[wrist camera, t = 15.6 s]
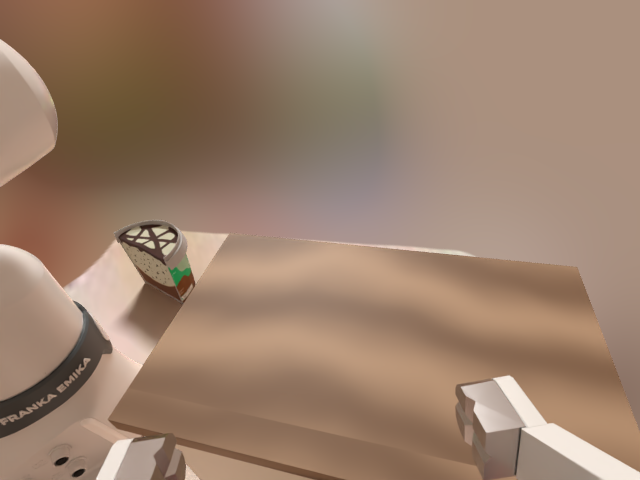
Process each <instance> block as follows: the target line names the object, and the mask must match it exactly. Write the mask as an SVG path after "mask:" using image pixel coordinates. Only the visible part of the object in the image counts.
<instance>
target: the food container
mask: <svg viewBox="0 0 640 480" xmlns="http://www.w3.org/2000/svg"><path fill="white" fill-rule="evenodd" d="M114 234H115V237H116V239H117V242H118V243H119V242H120V244H121V245H122V247H123V248H124V250H125V252H126V253H127V255H128V256H129V258H130V259H131V261H132V263H133V264H134V266H135V267H136V269H137V270H138V272H139V274H140V275H141V277H142V278H143V280H144V281H145V283H147V284H149V285H151V286H152V287H154V288H156V289H158V290H159V291H161V292H163V293H164V294H166V295H168V296H170V297H171V298H173V299H175V300H177V301H178V302H180V303H182V304H184V302H185V301H186V299H187V297H188V296H189V294H190V293H191V291H192V290H193V288H194V287H195V281H194V277H193V274H192V271H191V268H190V265H189V261H188V258H187V255H186V251H187V240H186V238H185V236H184V235H183V234H182V233H181V231H180V230H179V229H178V228H177V227H175V226H174V225H173V224H171V223H169V222H166V221H162V220H148V221H142V222H138V223H134V224H131V225H129V226H126V227H124V228H122V229H120V230H118V231H116V232H114Z"/></svg>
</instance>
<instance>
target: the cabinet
mask: <svg viewBox="0 0 640 480" xmlns="http://www.w3.org/2000/svg"><path fill="white" fill-rule="evenodd" d="M509 375H510V376H511V377H513V378H514V380H515V381H516V382H517V384H518V385H519V386H520V388H521V389H522V390H523V392H524V393H525V394H526V396H527V397H528V398H529V400H530V401H531V402H532V404H533V405H534V406H535V408H536V409H537V410H538V412H539V413H540V414H541V416H542V417H543V418H544V420H545V421H546V422H547V424H549V423H554V424H556V425H558V426H559V427H561V428H563V429H565V430H566V431H568V432H570V433H572V434H573V435H575V436H577V437H579V438H580V439H582V440H584V441H586V442H587V443H589V444H591V445H593V446H594V447H596V448H598V449H600V450H601V451H603V452H605V453H607V454H608V455H610V456H612V457H614V458H615V459H617V460H619V461H621V462H622V463H624V464H626V465H628V466H629V467H631V468H633V469H635V470H636V471H638V472H640V431H639V429H638V426H637V423H636V421H635V418H634V416H633V413H632V410H631V408H630V405H629V402H628V400H627V397H626V394H625V392H624V389H623V387H622V384H621V381H620V379H619V376H618V374H617V371H616V368H615V366H614V363H613V360H612V358H611V355H610V352H609V350H608V347H607V345H606V342H605V339H604V337H603V334H602V331H601V329H600V326H599V324H598V321H597V318H596V316H595V313H594V310H593V308H592V305H591V302H590V300H589V297H588V295H587V292H586V289H585V287H584V284H583V282H582V279H581V276H580V274H579V271H578V268H577V267H570V266H561V265H551V264H541V263H530V262H521V261H510V260H500V259H490V258H480V257H470V256H459V255H449V254H439V253H429V252H419V251H409V250H398V249H388V248H378V247H368V246H358V245H348V244H337V243H327V242H317V241H307V240H297V239H286V238H276V237H266V236H256V235H246V234H236V233H230V234H229V235H228V237H227V238H226V240H225V241H224V243H223V244H222V246H221V247H220V249H219V250H218V252H217V253H216V255H215V256H214V258H213V259H212V261H211V262H210V264H209V265H208V267H207V269H206V270H205V272H204V273H203V275H202V276H201V278H200V279H199V281H198V282H197V284H196V285H195V287H194V288H193V290H192V291H191V293H190V294H189V296H188V297H187V299H186V301H185V302H184V304H183V305H182V307H181V308H180V310H179V311H178V313H177V314H176V316H175V317H174V319H173V320H172V322H171V323H170V325H169V326H168V328H167V329H166V331H165V333H164V334H163V336H162V337H161V339H160V340H159V342H158V343H157V345H156V346H155V348H154V349H153V351H152V352H151V354H150V355H149V357H148V358H147V360H146V361H145V363H144V364H143V366H142V368H141V369H140V371H139V372H138V374H137V375H136V377H135V378H134V380H133V381H132V383H131V384H130V386H129V387H128V389H127V390H126V392H125V393H124V395H123V396H122V398H121V400H120V401H119V403H118V404H117V406H116V407H115V409H114V410H113V412H112V413H111V415H110V416H109V418H108V419H107V420H108V421H109V422H110V423H111V424H112V425H114V426H115V427H116V428H117V429H119V430H123V431H127V432H131V433H135V434H139V435H142V436H152V435H159V434H166V433H173V434H174V436H175V438H176V440H177V442H176V444H178V445H181V446H185V447H189V448H193V449H197V450H201V451H205V452H209V453H213V454H216V455H220V456H224V457H228V458H232V459H236V460H240V461H244V462H248V463H251V464H255V465H259V466H263V467H267V468H271V469H275V470H279V471H283V472H287V473H290V474H294V475H298V476H302V477H306V478H310V479H314V480H483V478H482V476H481V474H480V472H479V470H478V468H477V466H476V464H475V462H474V460H473V458H472V446H471V445H469V444H468V443H466V442H465V441H464V439H463V437H462V434H461V432H460V429H459V427H458V423H457V419H456V412H455V405H456V404H457V403H458V402H459V401H458V399H457V397H456V395H455V388H456V385H457V384H462V383H467V382H473V381H478V380H484V379H489V378H490V379H492V378H497V377H503V376H509ZM491 480H518V479H517V478H516V476H512V477H505V478H498V479H491Z"/></svg>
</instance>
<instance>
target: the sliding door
mask: <svg viewBox="0 0 640 480" xmlns="http://www.w3.org/2000/svg"><path fill="white" fill-rule="evenodd" d="M175 448H176V449H178V450H180V451H182V453H183V456H184V459H185V463H186V464H187V465H188V466H189V467H190V469H191V470H192V471H193V472H194V473H195V474H196V475H197V476H198V478H199V479H200V480H314V479H310V478H306V477H302V476H298V475H294V474H290V473H287V472H283V471H279V470H275V469H271V468H267V467H263V466H259V465H255V464H251V463H248V462H244V461H240V460H236V459H232V458H228V457H224V456H220V455H216V454H213V453H209V452H205V451H201V450H197V449H193V448H189V447H185V446H181V445H178V444H176V446H175Z"/></svg>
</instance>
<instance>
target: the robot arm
mask: <svg viewBox="0 0 640 480" xmlns="http://www.w3.org/2000/svg"><path fill="white" fill-rule="evenodd" d="M57 128H58V126H57V115H56V110H55V106H54V103H53V100H52V98H51V95H50V93H49V91H48V89H47V87H46V85H45V84H44V82H43V81H42V79H41V78H40V76H39V75H38V73H37V72H36V71H35V70H34V68H33V67H31V65H30V64H29V63H28V62H27V61H26V60H25V59H24V58H23V57H22V56H21V55H20V54H19V53H17V52H16V51H15V50H14V49H13V48H12V47H10V46H9V45H7V44H6V43H5V42H3V41H2V40H0V186H2V185H4V184H5V183H7V182H8V181H9V180H11V179H13V178H14V177H15V176H17V175H18V174H19V173H21V172H23V171H24V170H25V169H27V168H28V167H30V166H31V165H32V164H34V163H35V162H36V161H38V160H39V159H40V158H42V157H43V156H45V155H46V154H47V153H49V152H50V151H51V150H52V149H53V148H54V146H55V142H56V138H57ZM142 366H143V365H141V364H140V363H138V362H135V361H133V360H131V359H129V358H128V357H126V356H125V355H124V354H122V353H121V352H120V351H118V350H117V349H116V348H115V347H114V346H113V345H112V344H111V342H110V339H109V336H108V335H107V334H106V332H105V331H104V329H103V328H102V327H101V325H100V324H99V323H98V322H97V320H96V319H95V318H94V317H93V315H92V314H91V313H90V312H89V311H87V310H86V309H85V308H84V307H83V306H82V305H81V304H79V303H77V302H75V301H73V300H71V298H70V297H69V296H68V295H67V293H66V292H65V291H64V290H63V288H62V287H61V286H60V285H59V284H58V282H57V281H56V280H55V279H54V277H53V276H52V275H51V274H50V272H49V271H48V270H47V269H46V268H45V266H44V265H43V264H42V263H41V261H40V260H39V259H38V258H36V257H35V256H34V255H32V254H30V253H28V252H27V251H25V250H22V249H19V248H16V247H13V246H8V245H2V244H0V480H185V470H186V464H185V459H184V456H183V453H182V451H180V450H178V449H176V448H175V446H176V442H177V440H176V438H175V436H174V434H173V433H166V434H159V435H152V436H145V437H142V435H139V434H135V433H131V432H127V431H123V430H119V429H117V428H116V427H115V426H114V425H112V424H111V423H110V422H109V421H108V420H107V419H108V418H109V416H110V415H111V413H112V412H113V410H114V409H115V407H116V406H117V404H118V403H119V401H120V400H121V398H122V396H123V395H124V393H125V392H126V390H127V389H128V387H129V386H130V384H131V383H132V381H133V380H134V378H135V377H136V375H137V374H138V372H139V371H140V369H141V368H142ZM455 395H456V397H457V399H458V401H459V402H458V403H457V404H456V405H455V412H456V419H457V423H458V427H459V429H460V432H461V434H462V437H463V439H464V441H465V442H466V443H468V444H469V445H471V446H472V458H473V460H474V462H475V464H476V466H477V468H478V470H479V472H480V474H481V476H482V478H483V480H491V479H498V478H505V477H512V476H516V478H517V479H518V480H640V472H638V471H636V470H635V469H633V468H631V467H629V466H628V465H626V464H624V463H622V462H621V461H619V460H617V459H615V458H614V457H612V456H610V455H608V454H607V453H605V452H603V451H601V450H600V449H598V448H596V447H594V446H593V445H591V444H589V443H587V442H586V441H584V440H582V439H580V438H579V437H577V436H575V435H573V434H572V433H570V432H568V431H566V430H565V429H563V428H561V427H559V426H558V425H556V424H554V423H549V424H547V422H546V421H545V420H544V418H543V417H542V416H541V414H540V413H539V412H538V410H537V409H536V408H535V406H534V405H533V404H532V402H531V401H530V400H529V398H528V397H527V396H526V394H525V393H524V392H523V390H522V389H521V388H520V386H519V385H518V384H517V382H516V381H515V380H514V378H513V377H511V376H510V375H509V376H503V377H497V378H492V379H490V378H489V379H484V380H478V381H473V382H467V383H462V384H457V385H456V388H455Z"/></svg>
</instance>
